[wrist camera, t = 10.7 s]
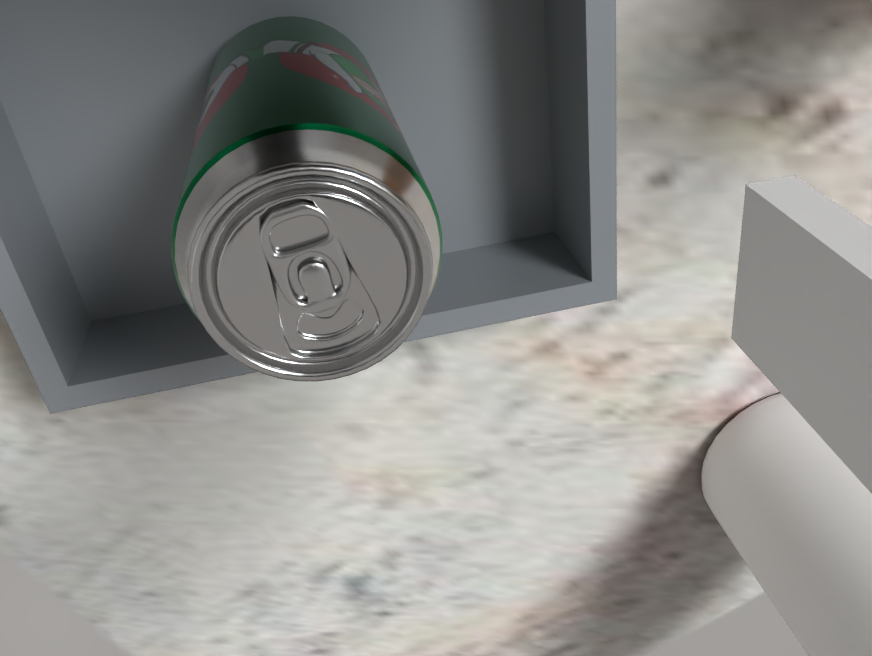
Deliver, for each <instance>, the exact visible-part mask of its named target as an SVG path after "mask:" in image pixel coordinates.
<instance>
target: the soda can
mask: <svg viewBox="0 0 872 656" xmlns="http://www.w3.org/2000/svg"><path fill="white" fill-rule="evenodd" d="M442 253H443V250H442V230H441V224H440V219H439V214H438V212H437V209H436V206H435V203H434V201H433V198H432V196H431V194H430V191H429V189H428V187H427V185H426V183H425V181H424V179H423V177H422V175H421V172H420V170H419V168H418V166H417V164H416V162H415V160H414V158H413V155H412V153H411V151H410V149H409V147H408V145H407V143H406V141H405V139H404V136H403V134H402V132H401V130H400V128H399V126H398V124H397V122H396V119H395V117H394V115H393V113H392V111H391V109H390V107H389V105H388V103H387V100H386V98H385V96H384V94H383V92H382V90H381V88H380V86H379V84H378V81H377V79H376V77H375V75H374V73H373V71H372V69H371V67H370V65H369V63H368V62H367V60H366V58H365V56H364V55H363V54H362V53H361V51H360V50H359V49H358V48H357V46H356V45H355V44H354V43H353V42H352V41H350V40H349V39H348V38H347V37H346V36H345V35H343V34H342V33H340V32H339V31H337V30H336V29H334V28H333V27H331V26H328V25H326V24H324V23H322V22H319V21H316V20H312V19H309V18H303V17H295V16H286V17H275V18H270V19H266V20H262V21H260V22H257V23H255V24H253V25H250V26H249V27H247V28H245V29H244V30H242V31H240V32H239V33H238V34H237V35H235V36H234V37H233V38H232V39H231V40H230V41H229V42H228V43H227V44H226V45H225V46H224V48H223V49H222V50H221V51H220V53H219V54H218V56H217V58H216V60H215V62H214V64H213V66H212V69H211V71H210V74H209V77H208V81H207V85H206V89H205V93H204V97H203V101H202V106H201V110H200V114H199V118H198V122H197V126H196V130H195V134H194V139H193V143H192V147H191V151H190V155H189V159H188V163H187V167H186V172H185V176H184V180H183V184H182V188H181V192H180V196H179V200H178V204H177V209H176V213H175V217H174V222H173V229H172V235H171V259H172V264H173V268H174V273H175V278H176V280H177V283H178V286H179V288H180V291H181V293H182V296H183V297H184V299H185V301H186V302H187V304H188V306H189V307H190V309H191V311H192V312H193V314H194V315H195V316H196V317H197V318H198V319H199V321H200V322H201V323H202V324H203V326H204V328H205V329H206V331H207V333H208V334H209V335H210V336H211V337H212V339H213V340H214V341H215V342H216V343H217V344H218V346H220V347H221V348H222V349H223V350H224V351H225V352H227V353H228V354H229V355H230V356H231V357H233V358H234V359H236V360H237V361H239V362H241V363H242V364H244V365H245V366H247V367H249V368H252V369H254V370H256V371H258V372H261V373H263V374H266V375H270V376H273V377H277V378H280V379H287V380H294V381H323V380H332V379H337V378H341V377H345V376H349V375H352V374H354V373H357V372H360V371H362V370H365V369H367V368H369V367H371V366H372V365H374V364H376V363H378V362H380V361H381V360H383V359H384V358H386V357H387V356H388V355H390V354H391V353H392V352H394V351H395V350H396V349H397V348H398V347H399V346H400V345H401V344H402V343H403V342H404V341H405V340H406V339H407V338H408V337H409V335H410V334H411V332H412V331H413V330H414V328H415V327H416V326H417V324H418V322H419V320H420V318H421V316H422V315H423V313H424V311H425V308H426V305H427V302H428V299H429V297H430V295H431V293H432V291H433V289H434V287H435V284H436V281H437V278H438V275H439V272H440V266H441V259H442Z"/></svg>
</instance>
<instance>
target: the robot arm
mask: <svg viewBox="0 0 872 656" xmlns="http://www.w3.org/2000/svg"><path fill="white" fill-rule="evenodd" d="M731 338H732V339H733V340H734V341H735V343H736V344H737V345H738V346H739V347H740V348H741V349H742V350H743V351H744V353H745V354H746V355H747V356H748V357H749V358H750V359H751V360H752V361H753V363H754V364H755V365H756V366H757V367H758V368H759V369H760V370H761V371H762V373H763V374H764V375H765V376H766V377H767V378H768V379H769V380H770V381H771V383H772V384H773V385H774V386H775V387H776V388H777V389H778V390H779V391H780V393H781V394H782V395H783V396H784V397H785V398H786V399H787V400H788V401H789V403H790V404H791V405H792V406H793V407H794V408H795V409H796V410H797V411H798V413H799V414H800V415H801V416H802V417H803V418H804V419H805V420H806V422H807V423H808V424H809V425H810V426H811V427H812V428H813V429H814V430H815V432H816V433H817V434H818V435H819V436H820V437H821V438H822V439H823V440H824V442H825V443H826V444H827V445H828V446H829V447H830V448H831V449H832V450H833V452H834V453H835V454H836V455H837V456H838V457H839V458H840V459H841V460H842V462H843V463H844V464H845V465H846V466H847V467H848V468H849V469H850V470H851V472H852V473H853V474H854V475H855V476H856V477H857V478H858V479H859V480H860V482H861V483H862V484H863V485H864V486H865V487H866V488H867V489H868V490H869V492H870V493H871V494H872V227H871V226H870V225H868V224H867V223H865V222H864V221H862V220H861V219H859V218H858V217H856V216H855V215H853V214H852V213H850V212H849V211H847V210H846V209H844V208H843V207H841V206H840V205H838V204H837V203H835V202H834V201H832V200H831V199H829V198H828V197H826V196H825V195H823V194H822V193H820V192H819V191H817V190H816V189H814V188H813V187H811V186H810V185H808V184H807V183H805V182H804V181H803V180H801V179H800V178H798V177H797V176H795V175H793V176H788V177H782V178H777V179H772V180H766V181H761V182H756V183H750V184H746V189H745V199H744V210H743V220H742V231H741V242H740V252H739V263H738V273H737V284H736V294H735V305H734V316H733V326H732V337H731Z"/></svg>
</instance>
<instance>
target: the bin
mask: <svg viewBox="0 0 872 656" xmlns="http://www.w3.org/2000/svg"><path fill="white" fill-rule="evenodd" d="M286 16H295V17H303V18H309V19H312V20H316V21H319V22H322V23H324V24H326V25H328V26H331V27H333V28H334V29H336V30H337V31H339V32H340V33H342V34H343V35H345V36H346V37H347V38H348V39H349V40H350V41H352V42H353V43H354V44H355V45H356V46H357V48H358V49H359V50H360V51H361V53H362V54H363V55H364V56H365V58H366V60H367V62H368V63H369V65H370V67H371V69H372V71H373V73H374V75H375V77H376V79H377V81H378V84H379V86H380V88H381V90H382V92H383V94H384V96H385V98H386V100H387V103H388V105H389V107H390V109H391V111H392V113H393V115H394V117H395V119H396V122H397V124H398V126H399V128H400V130H401V132H402V134H403V136H404V139H405V141H406V143H407V145H408V147H409V149H410V151H411V153H412V155H413V158H414V160H415V162H416V164H417V166H418V168H419V170H420V172H421V175H422V177H423V179H424V181H425V183H426V185H427V187H428V189H429V191H430V194H431V196H432V198H433V201H434V203H435V206H436V209H437V212H438V214H439V219H440V224H441V230H442V250H443V253H442V259H441V266H440V272H439V275H438V278H437V281H436V284H435V287H434V289H433V291H432V293H431V295H430V297H429V299H428V302H427V305H426V308H425V311H424V313H423V315H422V316H421V318H420V320H419V322H418V324H417V326H416V327H415V328H414V330H413V331H412V332H411V334H410V335H409V337H408V338H407V339H406V340H405V341H404V342H407V341H412V340H417V339H422V338H427V337H432V336H437V335H442V334H447V333H452V332H457V331H461V330H466V329H471V328H476V327H481V326H486V325H491V324H496V323H501V322H506V321H511V320H516V319H521V318H526V317H531V316H536V315H541V314H546V313H551V312H555V311H560V310H565V309H570V308H575V307H580V306H585V305H590V304H595V303H600V302H605V301H610V300H615V299H617V236H616V0H0V309H1V311H2V313H3V315H4V317H5V319H6V321H7V324H8V326H9V328H10V330H11V332H12V334H13V336H14V338H15V340H16V342H17V345H18V347H19V349H20V351H21V353H22V355H23V357H24V359H25V361H26V363H27V366H28V368H29V370H30V372H31V374H32V376H33V378H34V380H35V382H36V385H37V387H38V389H39V391H40V393H41V395H42V397H43V399H44V401H45V403H46V406H47V408H48V410H49V412H50V414H51V413H56V412H61V411H66V410H71V409H76V408H81V407H86V406H90V405H95V404H100V403H105V402H110V401H115V400H120V399H125V398H130V397H135V396H140V395H145V394H150V393H155V392H160V391H165V390H170V389H175V388H180V387H184V386H189V385H194V384H199V383H204V382H209V381H214V380H219V379H224V378H229V377H234V376H239V375H244V374H249V373H254V372H258V371H256V370H254V369H252V368H249V367H247V366H245V365H244V364H242V363H241V362H239V361H237V360H236V359H234V358H233V357H231V356H230V355H229V354H228V353H227V352H225V351H224V350H223V349H222V348H221V347H220V346H218V344H217V343H216V342H215V341H214V340H213V339H212V337H211V336H210V335H209V334H208V333H207V331H206V329H205V328H204V326H203V324H202V323H201V322H200V321H199V319H198V318H197V317H196V316H195V315H194V314H193V312H192V311H191V309H190V307H189V306H188V304H187V302H186V301H185V299H184V297H183V296H182V293H181V291H180V288H179V286H178V283H177V280H176V278H175V273H174V268H173V264H172V259H171V235H172V229H173V222H174V217H175V213H176V209H177V204H178V200H179V196H180V192H181V188H182V184H183V180H184V176H185V172H186V167H187V163H188V159H189V155H190V151H191V147H192V143H193V139H194V134H195V130H196V126H197V122H198V118H199V114H200V110H201V106H202V101H203V97H204V93H205V89H206V85H207V81H208V77H209V74H210V71H211V69H212V66H213V64H214V62H215V60H216V58H217V56H218V54H219V53H220V51H221V50H222V49H223V48H224V46H225V45H226V44H227V43H228V42H229V41H230V40H231V39H232V38H233V37H234V36H235V35H237V34H238V33H239V32H240V31H242V30H244V29H245V28H247V27H249V26H250V25H253V24H255V23H257V22H260V21H262V20H266V19H270V18H275V17H286Z"/></svg>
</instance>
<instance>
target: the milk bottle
mask: <svg viewBox="0 0 872 656" xmlns="http://www.w3.org/2000/svg"><path fill="white" fill-rule="evenodd" d="M701 477H702V490H703V495H704V498H705V500H706V502H707V504H708V506H709V507H710V509H711V511H712V512H713V514H714V516H715V517H716V519H717V520H718V522H719V523H720V525H721V527H722V528H723V530H724V531H725V533H726V534H727V536H728V537H729V539H730V540H731V542H732V543H733V545H734V546H735V548H736V549H737V551H738V552H739V554H740V555H741V557H742V558H743V560H744V561H745V563H746V564H747V566H748V567H749V569H750V570H751V572H752V573H753V575H754V576H755V578H756V579H757V581H758V582H759V584H760V585H761V587H762V588H763V590H764V591H765V593H766V594H767V596H768V597H769V598H770V600H771V602H772V603H773V604H774V606H775V607H776V609H777V610H778V612H779V613H780V615H781V616H782V618H783V619H784V621H785V622H786V624H787V625H788V627H789V628H790V629H791V631H792V633H793V634H794V635H795V637H796V638H797V640H798V641H799V643H800V644H801V646H802V647H803V649H804V650H805V651H806V653H807V655H808V656H872V494H871V493H870V492H869V490H868V489H867V488H866V487H865V486H864V485H863V484H862V483H861V482H860V480H859V479H858V478H857V477H856V476H855V475H854V474H853V473H852V472H851V470H850V469H849V468H848V467H847V466H846V465H845V464H844V463H843V462H842V460H841V459H840V458H839V457H838V456H837V455H836V454H835V453H834V452H833V450H832V449H831V448H830V447H829V446H828V445H827V444H826V443H825V442H824V440H823V439H822V438H821V437H820V436H819V435H818V434H817V433H816V432H815V430H814V429H813V428H812V427H811V426H810V425H809V424H808V423H807V422H806V420H805V419H804V418H803V417H802V416H801V415H800V414H799V413H798V411H797V410H796V409H795V408H794V407H793V406H792V405H791V404H790V403H789V401H788V400H787V399H786V398H785V397H784V396H783V395H782V394H781V393H779V394H776V395H773V396H769V397H767V398H765V399H763V400H761V401H759V402H757V403H754V404H753V405H751V406H750V407H748V408H747V409H745V410H744V411H742V412H740V413H739V414H738V415H737V416H736V417H735V418H733V419H732V420H731V421H730V422H729V423H727V424H726V426H725V427H724V428H723V429H722V430H721V431H720V433H719V434H718V435H717V436H716V437H715V439H714V441H713V442H712V444H711V446H710V447H709V449H708V451H707V454H706V456H705V459H704V461H703V467H702V472H701Z"/></svg>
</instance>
